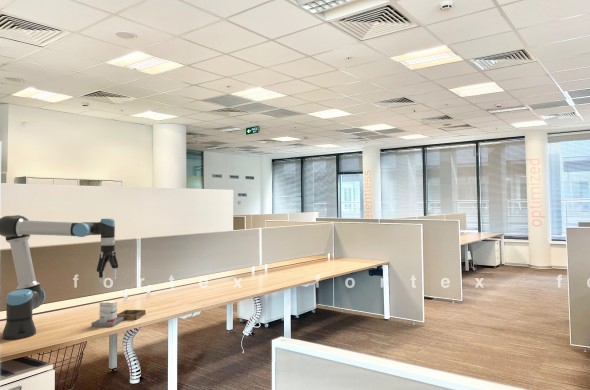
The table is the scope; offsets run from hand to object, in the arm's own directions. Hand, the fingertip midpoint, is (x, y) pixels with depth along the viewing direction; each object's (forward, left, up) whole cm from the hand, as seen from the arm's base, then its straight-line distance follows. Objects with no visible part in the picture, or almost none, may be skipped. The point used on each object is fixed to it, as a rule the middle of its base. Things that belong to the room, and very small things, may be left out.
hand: (107, 281), depth 247 cm
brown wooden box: (+7, +15, -25) cm, 29 cm away
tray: (0, 0, -25) cm, 25 cm away
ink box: (0, 0, -24) cm, 24 cm away
